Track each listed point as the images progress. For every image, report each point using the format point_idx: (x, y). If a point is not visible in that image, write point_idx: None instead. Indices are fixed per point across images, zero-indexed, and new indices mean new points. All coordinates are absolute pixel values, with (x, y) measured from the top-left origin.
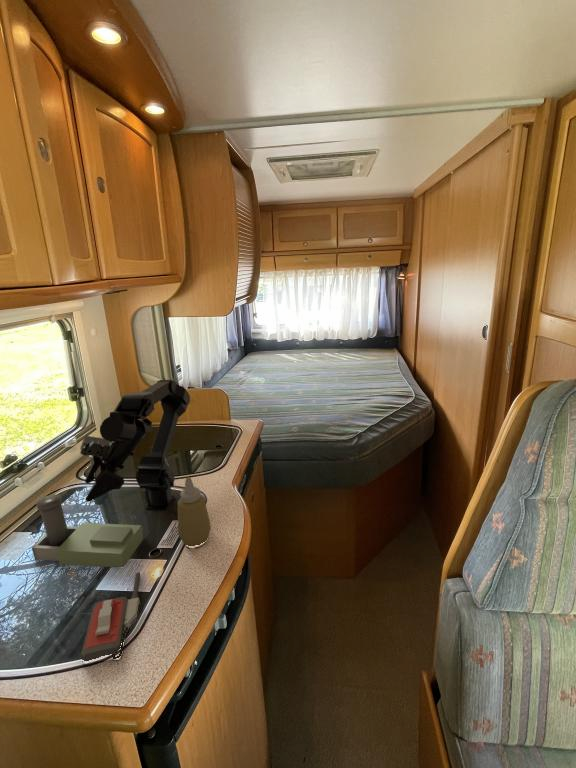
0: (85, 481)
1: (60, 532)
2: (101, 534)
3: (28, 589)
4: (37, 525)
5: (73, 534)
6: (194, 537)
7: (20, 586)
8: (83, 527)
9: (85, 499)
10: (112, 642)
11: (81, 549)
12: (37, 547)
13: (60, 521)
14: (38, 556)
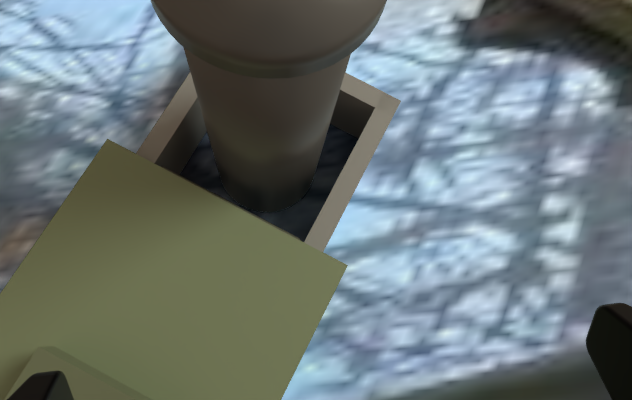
0: (607, 314)
1: (211, 140)
2: None
3: (16, 61)
4: (522, 31)
5: (232, 221)
6: None
7: (59, 27)
8: (285, 278)
9: (31, 376)
10: None
11: (26, 290)
12: None
13: (215, 120)
14: None
